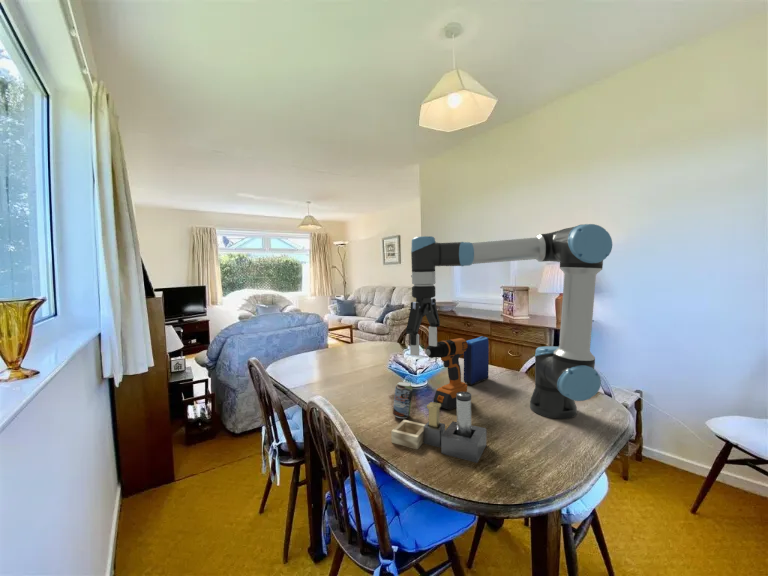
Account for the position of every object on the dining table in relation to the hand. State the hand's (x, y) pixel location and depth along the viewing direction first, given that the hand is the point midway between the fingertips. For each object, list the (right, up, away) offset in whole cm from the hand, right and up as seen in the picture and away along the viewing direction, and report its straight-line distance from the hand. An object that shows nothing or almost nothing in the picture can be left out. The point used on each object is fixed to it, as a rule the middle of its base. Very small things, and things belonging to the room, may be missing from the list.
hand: (424, 350), depth 111 cm
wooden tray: (-5, -27, -8) cm, 28 cm away
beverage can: (-6, -26, +10) cm, 28 cm away
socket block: (+7, -26, -12) cm, 30 cm away
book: (+29, -22, +44) cm, 57 cm away
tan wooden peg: (+2, -22, -10) cm, 24 cm away
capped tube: (+10, -26, -14) cm, 31 cm away
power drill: (+11, -25, +19) cm, 33 cm away
